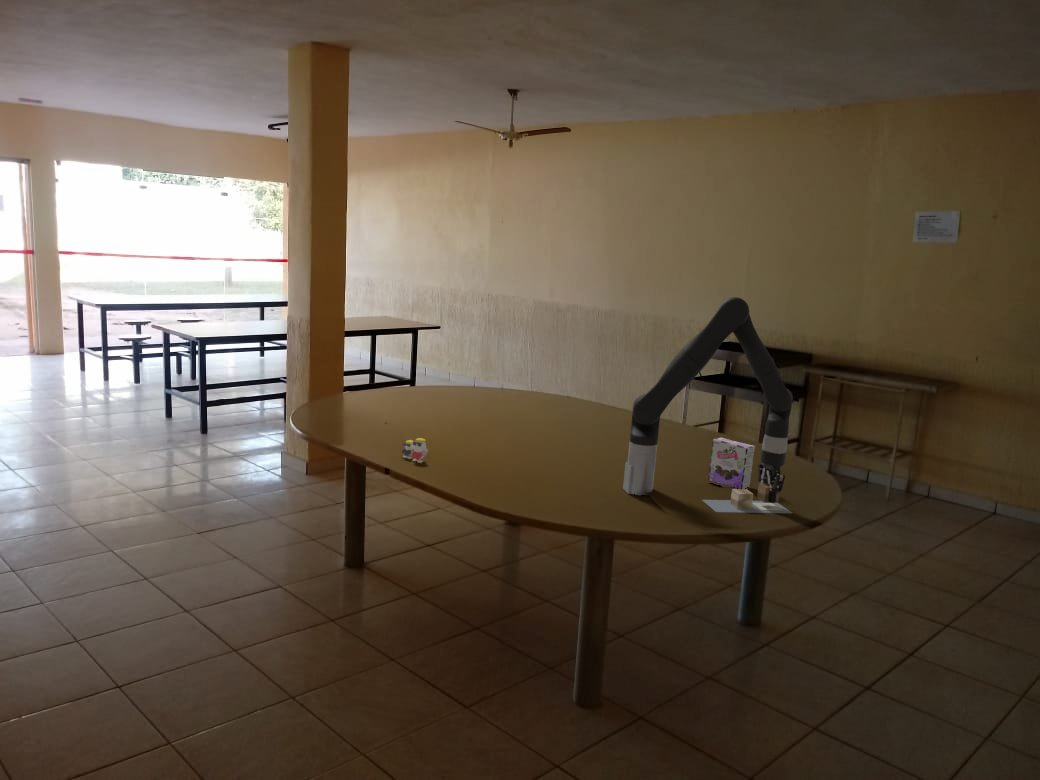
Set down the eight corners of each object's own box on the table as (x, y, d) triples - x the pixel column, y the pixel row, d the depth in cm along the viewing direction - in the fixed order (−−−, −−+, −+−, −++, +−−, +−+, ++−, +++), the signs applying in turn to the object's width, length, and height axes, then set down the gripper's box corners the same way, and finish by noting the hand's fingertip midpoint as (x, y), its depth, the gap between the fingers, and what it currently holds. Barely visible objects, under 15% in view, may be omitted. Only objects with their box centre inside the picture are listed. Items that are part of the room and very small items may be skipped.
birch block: (736, 508, 253) (738, 493, 252) (730, 503, 258) (732, 488, 257) (751, 508, 254) (753, 494, 253) (744, 503, 258) (746, 489, 258)
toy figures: (399, 456, 290) (400, 434, 288) (409, 454, 293) (410, 432, 291) (420, 464, 281) (421, 441, 280) (430, 462, 285) (431, 440, 283)
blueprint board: (715, 515, 248) (716, 511, 248) (701, 503, 260) (701, 499, 259) (792, 516, 253) (792, 512, 252) (774, 504, 264) (775, 500, 264)
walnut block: (764, 502, 254) (766, 487, 253) (756, 497, 259) (758, 483, 258) (778, 502, 255) (780, 488, 254) (771, 497, 260) (773, 483, 259)
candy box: (706, 483, 284) (712, 438, 281) (715, 480, 288) (721, 436, 285) (741, 493, 274) (747, 447, 271) (749, 490, 278) (755, 445, 276)
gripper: (753, 443, 260) (747, 492, 263) (774, 454, 246) (767, 507, 249) (774, 443, 261) (768, 493, 264) (796, 455, 247) (789, 507, 250)
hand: (767, 499), depth 257 cm, fingers closed on walnut block, 5 cm apart
